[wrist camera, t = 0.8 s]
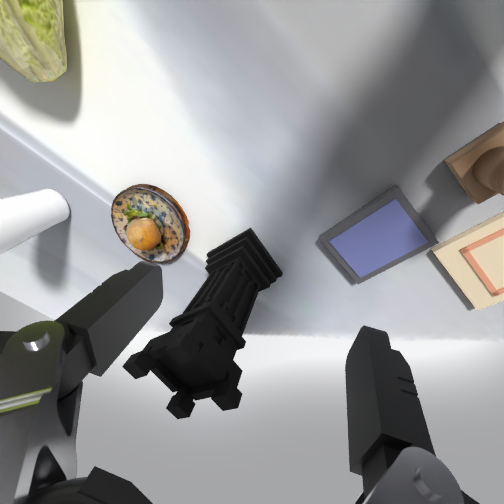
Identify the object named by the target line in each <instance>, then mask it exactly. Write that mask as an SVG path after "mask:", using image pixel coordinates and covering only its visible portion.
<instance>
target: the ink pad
mask: <svg viewBox="0 0 504 504" xmlns="http://www.w3.org/2000/svg"><path fill="white" fill-rule="evenodd" d="M320 241H321V242H322V243H323V244H324V245H325V247H326V248H327V249H328V250H329V251H330V252H331V253H332V255H333V256H334V257H335V258H336V259H337V260H338V262H339V263H340V264H341V265H342V266H343V267H344V269H345V270H346V271H347V272H348V273H349V274H350V276H351V277H352V278H353V279H354V280H355V281H356V282H357V284H360V283H362V282H364V281H366V280H368V279H369V278H371V277H373V276H375V275H377V274H379V273H381V272H383V271H385V270H387V269H389V268H391V267H393V266H395V265H397V264H399V263H401V262H403V261H404V260H406V259H408V258H410V257H412V256H414V255H416V254H418V253H420V252H422V251H424V250H426V249H428V248H430V247H432V246H434V245H436V244H438V243H439V242H438V241H437V239H436V238H435V236H434V235H433V234H432V232H431V231H430V230H429V228H428V227H427V226H426V224H425V223H424V222H423V220H422V219H421V217H420V216H419V215H418V213H417V212H416V211H415V209H414V208H413V207H412V205H411V204H410V203H409V201H408V200H407V199H406V197H405V196H404V194H403V193H402V192H401V190H400V189H399V188H398V187H397V185H395V186H393V187H392V188H390V189H389V190H387V191H386V192H384V193H383V194H381V195H380V196H378V197H377V198H375V199H374V200H372V201H371V202H369V203H368V204H366V205H365V206H363V207H362V208H360V209H359V210H358V211H356V212H355V213H353V214H352V215H350V216H349V217H347V218H346V219H344V220H343V221H341V222H340V223H338V224H337V225H335V226H334V227H332V228H331V229H329V230H328V231H326V232H325V233H323V234H322V235H320Z"/></svg>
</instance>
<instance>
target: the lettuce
mask: <svg viewBox="0 0 504 504" xmlns="http://www.w3.org/2000/svg"><path fill="white" fill-rule="evenodd" d="M0 59H1V60H3V61H4V62H5V63H7V64H8V65H9V66H10V67H12V68H13V69H14V70H15V71H17V72H18V73H20V74H22V75H23V76H24V77H25V78H27V79H28V80H29V81H31V82H32V83H36V82H51V81H54V80H56V79H57V78H58V77H59V76H61V75H62V74H63V73H64V72H66V71H67V53H66V47H65V37H64V18H63V0H0Z"/></svg>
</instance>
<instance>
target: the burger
mask: <svg viewBox="0 0 504 504" xmlns="http://www.w3.org/2000/svg"><path fill="white" fill-rule="evenodd" d="M111 210H112V214H111V218H112V222H113V226H114V228H115V231H116V233H117V235H118V237H119V238H120V240H121V241H122V242H123V243H124V244H125V245H126V246H127V247H128V248H129V249H130V250H131V251H132V252H133V253H134V254H136V255H138V256H139V257H141V258H142V259H143V260H146V261H148V262H151V263H154V262H159V263H163V262H170V261H172V260H173V259H175V258H176V257H177V256H179V255H180V254H181V253H182V252H183V251H184V250H185V248H186V246H187V243H188V240H189V238H190V229H189V228H188V223H189V222H188V219H187V216H186V214H185V212H184V211H183V209H182V207H181V206H180V205H179V204H178V202H177V201H176V200H175V199H174V198H173V197H172V196H171V195H169V194H168V193H167V192H165V191H164V190H162V189H160V188H158V187H156V186H152V185H148V184H138V185H135V186H134V185H133V186H131V187H129V188H127V189H126V190H124V191H122V192H120V193H119V194H118V195H117V196H116V197H115V199H114V201H113V204H112V208H111Z"/></svg>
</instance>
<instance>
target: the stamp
mask: <svg viewBox="0 0 504 504" xmlns="http://www.w3.org/2000/svg"><path fill="white" fill-rule="evenodd" d="M444 161H445V162H446V164H447V165H448V167H449V168H450V170H451V171H452V173H453V174H454V176H455V177H456V179H457V180H458V182H459V183H460V185H461V186H462V188H463V189H464V191H465V192H466V194H467V195H468V197H469V198H470V199H471V200H473V201H474V202H476V203H477V204H480V203H482V202H483V201H485V200H487V199H489V198H491V197H493V196H494V195H496V194H498V193H500V194H502V195H504V122H502V123H498V124H497V125H495V126H494V127H492V128H491V129H489V130H488V131H486V132H485V133H483V134H482V135H480V136H479V137H477V138H476V139H474V140H472V141H471V142H469V143H468V144H466V145H465V146H463V147H462V148H460V149H459V150H457V151H456V152H454V153H453V154H451V155H450V156H448V157H447V158H445V159H444Z"/></svg>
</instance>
